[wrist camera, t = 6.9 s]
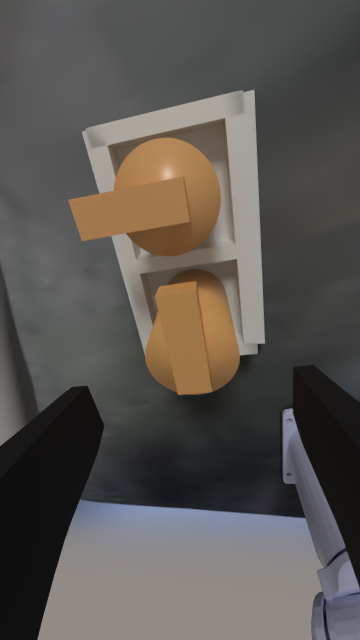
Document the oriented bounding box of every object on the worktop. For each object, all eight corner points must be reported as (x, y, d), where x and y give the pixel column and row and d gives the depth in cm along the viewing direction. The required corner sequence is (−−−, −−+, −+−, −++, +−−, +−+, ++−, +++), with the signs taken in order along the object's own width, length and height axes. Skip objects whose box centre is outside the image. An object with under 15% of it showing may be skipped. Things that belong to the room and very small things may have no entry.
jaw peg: (229, 323, 18) (246, 407, 11) (170, 330, 18) (152, 415, 12) (220, 240, 15) (235, 285, 9) (152, 251, 16) (118, 302, 9)
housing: (261, 334, 19) (290, 410, 13) (148, 346, 20) (123, 421, 14) (249, 97, 13) (294, 17, 7) (90, 135, 14) (1, 98, 8)
